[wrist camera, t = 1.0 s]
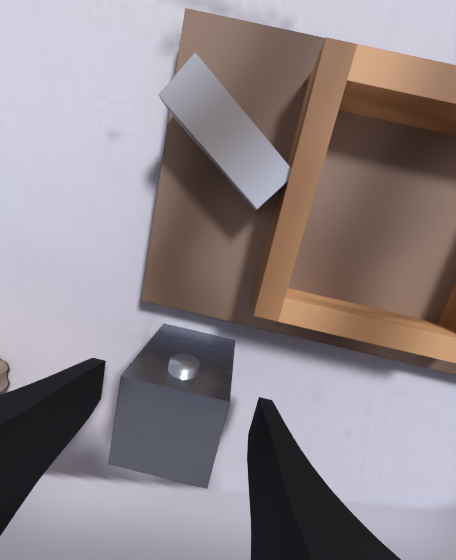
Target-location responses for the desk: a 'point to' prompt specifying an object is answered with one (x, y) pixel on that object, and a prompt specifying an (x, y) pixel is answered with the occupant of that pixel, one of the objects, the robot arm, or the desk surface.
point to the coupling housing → (309, 190)
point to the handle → (3, 376)
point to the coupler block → (174, 406)
